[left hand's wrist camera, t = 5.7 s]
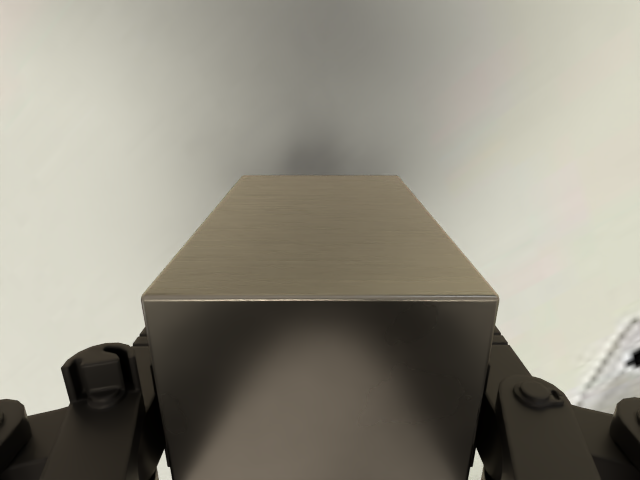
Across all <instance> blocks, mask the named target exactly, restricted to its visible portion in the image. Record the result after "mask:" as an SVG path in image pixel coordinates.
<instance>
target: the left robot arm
mask: <svg viewBox="0 0 640 480" xmlns="http://www.w3.org/2000/svg"><path fill="white" fill-rule="evenodd" d="M61 371H62V374H63V378H64V382H65V385H66V389H67V393H68V396H69V400H70V404H69V406H68V407H65V408H61V409H58V410H53V411H49V412H44V413H40V414H35V415H31V416H27V414H26V411H25V407H24V405H23V404H21V403H20V402H19V401H17V400H10V399H3V400H0V480H159V478H158V472H157V465H158V463H159V460H160V458H161V456H162V453H163V451H164V449H165V454H166V460H167V466H168V467H170V464H169V458H168V452H167V446H166V441H165V435H164V429H163V423H162V418H161V412H160V406H159V401H158V395H157V389H156V383H155V378H154V372H153V366H152V360H151V355H150V349H149V343H148V337H147V332H146V326H145V328H144V329H143V331H142V332H141V333H140V337H138V338H137V339H136V340H135V342H134V343H133V346H131V347H130V346H129V345H126V344H122V343H104V344H100V345H96V346H92V347H89V348H87V349H85V350H83V351H80V352H78V353H77V354H75V355H74V356H72V357H71V358H69V359H68V360H67V361H66V362H65V364H64V365H63V366H62V367H61ZM476 448H477V451H478V453H479V455H480V458H481V460H482V462H483V465H484V467H483V472H482V477H481V480H640V398H636V397H633V398H626V399H622V400H621V401H620V402H619V403H617V406H616V409H615V412H614V415H613V414H608V413H604V412H599V411H595V410H590V409H586V408H581V407H578V406H574V405H571V403H570V401H569V400H568V399H567V397H566V396H565V394H564V393H563V392H562V391H561V390H559V389H558V388H557V387H556V386H554V385H553V384H551V383H549V382H547V381H545V380H543V379H540V378H537V377H533V376H531V374H530V373H529V371H528V370H527V369H526V367H525V366H524V365H523V363H522V362H521V360H520V359H519V358H518V356H517V355H516V353H515V352H514V351H513V349H512V348H511V347H510V345H508V342H507V341H506V340H505V338H504V337H503V335H501V333H500V331H499V330H498V329H497V327H496V326H495V328H494V333H493V339H492V345H491V351H490V356H489V362H488V368H487V373H486V379H485V385H484V391H483V396H482V402H481V408H480V413H479V419H478V425H477V431H476V436H475V442H474V448H473V454H472V459H471V465H470V467H473V462H474V456H475V450H476Z"/></svg>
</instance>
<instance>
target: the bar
mask: <svg viewBox="0 0 640 480" xmlns="http://www.w3.org/2000/svg"><path fill="white" fill-rule="evenodd" d="M141 303H142V309H143V314H144V320H145V326H146V332H147V337H148V343H149V349H150V355H151V360H152V366H153V372H154V378H155V383H156V389H157V395H158V401H159V406H160V412H161V418H162V423H163V429H164V435H165V441H166V446H167V452H168V458H169V464H170V469H171V475H172V480H468V476H469V471H470V465H471V459H472V454H473V448H474V442H475V436H476V431H477V425H478V419H479V413H480V408H481V402H482V396H483V391H484V385H485V379H486V373H487V368H488V362H489V356H490V351H491V345H492V339H493V333H494V328H495V322H496V316H497V311H498V305H499V296H498V294H497V293H496V292H495V291H494V290H493V288H492V287H491V286H490V285H489V284H488V282H487V281H486V280H485V279H484V278H483V276H482V275H481V274H480V273H479V272H478V270H477V269H476V268H475V267H474V266H473V265H472V263H471V262H470V261H469V260H468V259H467V257H466V256H465V255H464V254H463V253H462V251H461V250H460V249H459V248H458V247H457V245H456V244H455V243H454V242H453V241H452V239H451V238H450V237H449V236H448V235H447V234H446V232H445V231H444V230H443V229H442V228H441V226H440V225H439V224H438V223H437V222H436V220H435V219H434V218H433V217H432V216H431V214H430V213H429V212H428V211H427V210H426V209H425V207H424V206H423V205H422V204H421V203H420V201H419V200H418V199H417V198H416V197H415V195H414V194H413V193H412V192H411V191H410V189H409V188H408V187H407V186H406V185H405V184H404V182H403V181H402V180H401V179H400V178H399V176H397V175H244V176H242V177H241V178H240V179H239V180H238V182H237V183H236V184H235V185H234V186H233V188H232V189H231V190H230V191H229V192H228V193H227V195H226V196H225V197H224V198H223V199H222V201H221V202H220V203H219V204H218V205H217V207H216V208H215V209H214V210H213V211H212V212H211V214H210V215H209V216H208V217H207V218H206V220H205V221H204V222H203V223H202V224H201V226H200V227H199V228H198V229H197V230H196V232H195V233H194V234H193V235H192V236H191V237H190V239H189V240H188V241H187V242H186V243H185V245H184V246H183V247H182V248H181V249H180V251H179V252H178V253H177V254H176V255H175V256H174V258H173V259H172V260H171V261H170V262H169V264H168V265H167V266H166V267H165V268H164V270H163V271H162V272H161V273H160V274H159V275H158V277H157V278H156V279H155V280H154V281H153V283H152V284H151V285H150V286H149V287H148V289H147V290H146V291H145V292H144V293H143V295H142V297H141Z"/></svg>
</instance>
